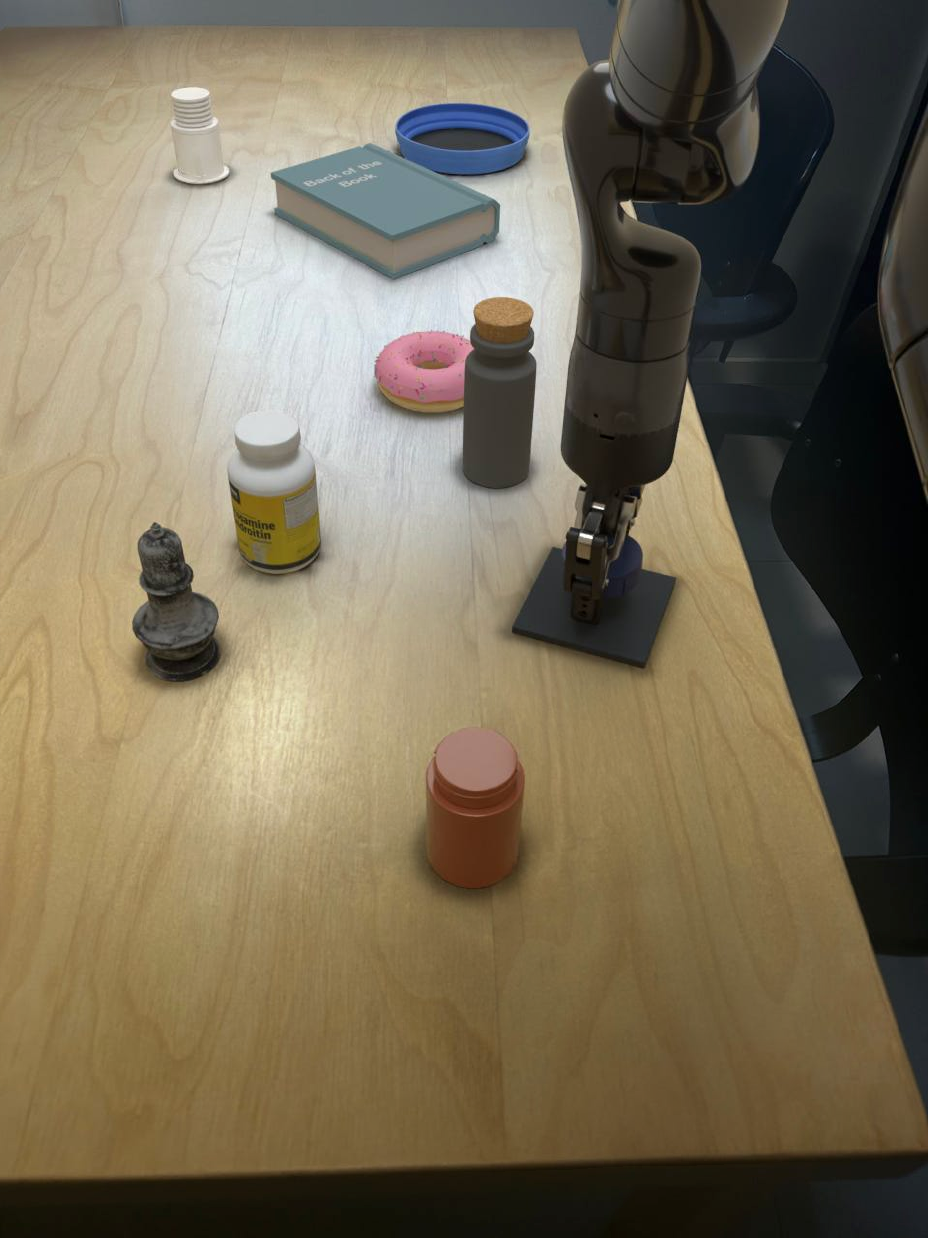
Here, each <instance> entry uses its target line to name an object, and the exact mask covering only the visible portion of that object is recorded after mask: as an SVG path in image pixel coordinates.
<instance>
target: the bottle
mask: <svg viewBox="0 0 928 1238" xmlns="http://www.w3.org/2000/svg"><path fill="white" fill-rule="evenodd" d="M472 312H473V318H474V324H473V325H472V326H471V328H470V332H469V340H470V343H471V345H472V347H473V348H474V349H473V350H472V351H471V352H470V353H469V354H468V355H467V357H466V360H465V375H464V407H463V414H462V415H463V417H462V471H463V473H464V475H465V477H466V478H467V479H468V480H470V481H471V482H472V483H474V484H476V485H479V486H482V487H486V488H492V489H502V488H509V487H513V486H516V485H518V484H520V483H522V481H524V479H526V477H527V476H528V474H529V470H530V462H531V451H532V439H533V437H532V436H533V426H534V412H535V396H536V385H537V383H536V381H537V360H536V358H535V356H534V355H533V353H531V352H530V351H531V350H532V348H533V347H534V344H535V331H534V329H533V327H532V326H531V324H532V321H533V318H534V313H535V312H534V309H533V308H532V306H531V305H530V304H529V303H527V302H525V301H523V300H521V299H517V298H514V297H507V296H496V297H490V298H486V299H483V300H481V301H479V302H477V304H475V306H474V307H473V311H472Z"/></svg>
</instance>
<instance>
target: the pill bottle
mask: <svg viewBox="0 0 928 1238" xmlns="http://www.w3.org/2000/svg"><path fill="white" fill-rule="evenodd" d="M233 433H234V443H235V446H236V448H235V450H234V451H233V452H232V454H231V455H230V457H229V460H228V462H227V467H226V469H227V470H226V471H227V480H228V486H229V492H230V500H231V506H232V513H233V519H234V524H235V533H236V540H237V546H238V550H239V553H240V556H241V558H242V560H243V562H245V563H246V564H247V565H248V566H249V567H251V568H253V569H254V570H257V571H260V572H262V573H267V574H273V575H275V574H279V575H280V574H288V573H292V572H296V571H298V570H301V569H303V568H305V567H306V566H308V565H310V564H311V563H312V562H313V561H314V560H315V559H316V558H317V556H318V554H319V552H320V550H321V545H322V535H321V523H320V522H321V521H320V511H319V496H318V485H317V484H318V483H317V471H316V470H317V469H316V464H315V459H314V456H313V454H312V453H311V451H310V450H309V449H308V448H307V447H306V446H305V445H304V444H302V443H301V440H302V435H301V428H300V423H299V421H298V419H297V418H296V417H295V416H293V414H290V413H288V412H285V411H282V410H276V409H264V410H258V411H257V410H256V411H253V412H250V413H248V414H246V415H244V416H242V417H240V418H239V420H238V421H237V422H236V423H235V425H234V429H233Z"/></svg>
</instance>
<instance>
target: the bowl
mask: <svg viewBox="0 0 928 1238" xmlns="http://www.w3.org/2000/svg"><path fill="white" fill-rule="evenodd" d="M394 131H395V132H394V133H395V136H396V140H397V143H398V144H399V151H400V153H401V155H402V157H403V158H405V159H407V160H409V161H411V162H413V163H416V164H418V165H420V166H422V167H424V168H427V169H429V170H431V171H433V172H435V173H443V174H452V175H482V174H489V173H495V172H498V171H502V170H506V169H508V168H511V167H513V166H514V165H516V164H518V163H519V162H520V161H521V159H522V158H523V157H524V154H525V148H526V147H527V145H528V142H529V139H530V125H529V123H528V122H527V120H526V119H524V118H523V117H522V116H520V115H519V114H517V113H514V112H512V111H510V110H507V109H505V108H500V107H498V106H497V107H496V106H493V105H488V104H480V103H471V102H444V103H433V104H428V105H423V106H420V107H417V108H414V109H411V110H409V111H407V112H405V113H404V114H402V115H400V117H398V118H397V120H396V122H395V129H394Z"/></svg>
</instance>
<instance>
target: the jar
mask: <svg viewBox="0 0 928 1238" xmlns="http://www.w3.org/2000/svg"><path fill="white" fill-rule="evenodd" d="M433 754H434V756H433V757H432V758H431V760H430V762H429V763H428V766H427V769H426V773H425V833H426V834H425V836H426V838H425V839H426V840H425V843H426V845H425V846H426V847H425V848H426V849H425V850H426V856H427V860H428V863H429V865H430V866H431V868H432V869H433V871H434V872H435V873H436V874H437V875H438V876H439V877H440V878H441V879H443V880H444V881H446V882H447V883H449V884H451V885H454V886H456V887H461V888H464V889H465V888H466V889H481V888H486V887H489V886H493V885H495V884H497V883H499V882H500V881H502V880H503V879H505V878H506V877H508V875H510V873H511V872H512V870H514V868H515V866H516V864H517V862H518V858H519V850H520V839H521V829H522V818H523V808H524V795H525V784H526V775H525V770H524V768H523V766H522V763H521V761H520V758H519V754H518V751H517V750H516V748H515V747H514V745H513V744H512V743H511V740H509V739H508V738H507V737H505V735H502V733H500V732H497V731H496V730H493V729H490V728H487V727H475V726H474V727H465V728H461V729H458V730H455V731H452V732H451V733H449V734H447V735H446V736H444V737H443V738H442V739H441V740H440V741H439V742H438V743H437V744H436V747H435V749H434V751H433Z"/></svg>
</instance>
